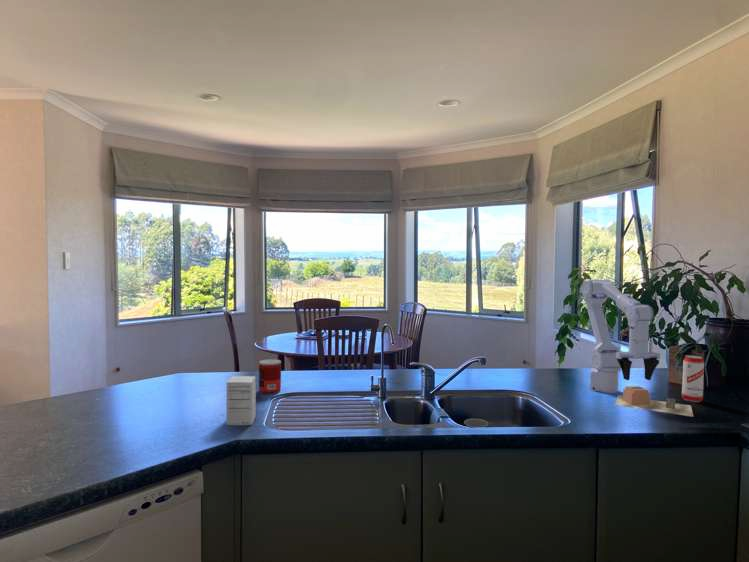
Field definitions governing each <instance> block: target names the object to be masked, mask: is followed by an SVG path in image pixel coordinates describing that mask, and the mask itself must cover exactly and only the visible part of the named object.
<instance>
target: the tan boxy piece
mask: <svg viewBox="0 0 749 562" xmlns="http://www.w3.org/2000/svg"><path fill="white" fill-rule="evenodd" d="M622 391H623V393H622V396H623V401H625V402H627V403H629V404H631V405H650V400H651V393H650V392H649V389H647V388H644V387H641V386H640V385H639V386H638V385H637V386H636V385H635V386H633V385H632V386H631V385H629V386H627V385H626V386H625V387H624V388H623V389H622Z"/></svg>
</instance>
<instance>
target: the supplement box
mask: <svg viewBox="0 0 749 562" xmlns="http://www.w3.org/2000/svg"><path fill="white" fill-rule="evenodd" d="M256 378H257V377H256V376H254V375H253V376H252V375H250V376H249V375H245V376H243V375H242V376H241V375H239V376H235V375H234V376H233V375H232V376H231V377H229V379H228V380H227V381H226V426H251V425H253V424H254V423H253V422H254V420H255V419H256V411H257V410H256V403H257V402H256V401H257V400H256V399H257V398H256V396H257V393H256V390H257V389H256V385H257V384H256V383H257V382H256V380H257V379H256Z"/></svg>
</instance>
